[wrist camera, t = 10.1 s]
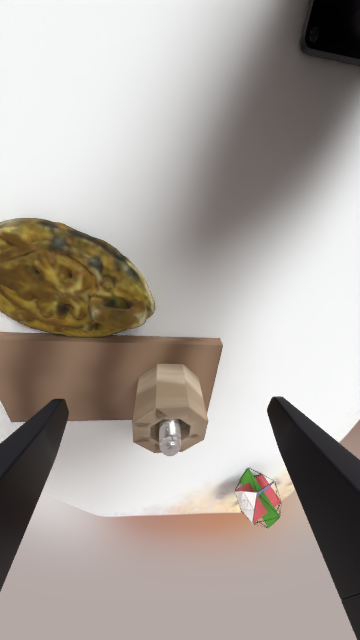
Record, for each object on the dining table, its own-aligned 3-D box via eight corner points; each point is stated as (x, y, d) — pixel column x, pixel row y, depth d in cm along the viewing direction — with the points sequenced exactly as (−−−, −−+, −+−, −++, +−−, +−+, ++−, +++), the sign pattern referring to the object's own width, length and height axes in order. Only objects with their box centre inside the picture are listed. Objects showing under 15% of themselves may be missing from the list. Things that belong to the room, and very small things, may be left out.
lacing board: (219, 338, 20) (222, 345, 19) (204, 409, 25) (205, 418, 24) (-19, 331, 17) (-31, 339, 16) (18, 412, 23) (11, 422, 22)
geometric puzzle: (292, 478, 32) (289, 535, 26) (274, 497, 35) (267, 553, 29) (250, 449, 35) (237, 494, 28) (236, 469, 38) (222, 514, 32)
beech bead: (200, 364, 20) (211, 406, 15) (193, 405, 23) (201, 450, 18) (138, 363, 19) (131, 408, 15) (139, 406, 22) (134, 453, 18)
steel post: (177, 380, 21) (183, 447, 15) (175, 392, 21) (181, 460, 15) (160, 380, 20) (159, 448, 14) (159, 392, 21) (158, 461, 15)
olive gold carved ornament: (-14, 309, 18) (148, 336, 21) (-65, 343, 14) (143, 371, 17) (-54, 192, 13) (167, 248, 16) (-150, 195, 9) (166, 269, 12)
